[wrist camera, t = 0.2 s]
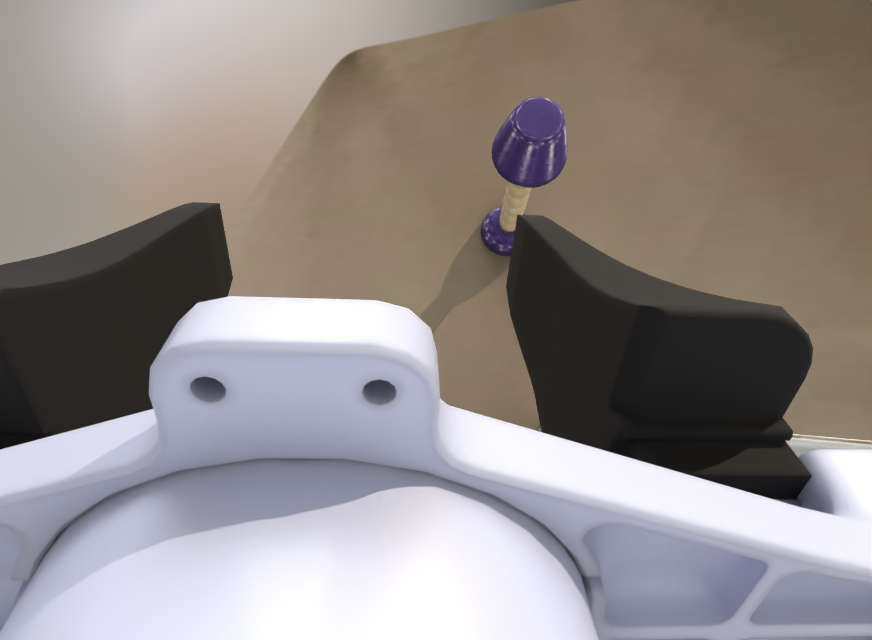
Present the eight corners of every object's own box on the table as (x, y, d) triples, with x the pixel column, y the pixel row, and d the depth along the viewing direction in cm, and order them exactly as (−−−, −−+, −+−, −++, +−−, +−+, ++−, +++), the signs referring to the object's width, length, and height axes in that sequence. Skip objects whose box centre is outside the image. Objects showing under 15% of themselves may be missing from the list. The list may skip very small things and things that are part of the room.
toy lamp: (471, 251, 46) (495, 151, 30) (477, 200, 47) (504, 76, 31) (528, 258, 46) (583, 162, 30) (533, 207, 47) (589, 86, 31)
